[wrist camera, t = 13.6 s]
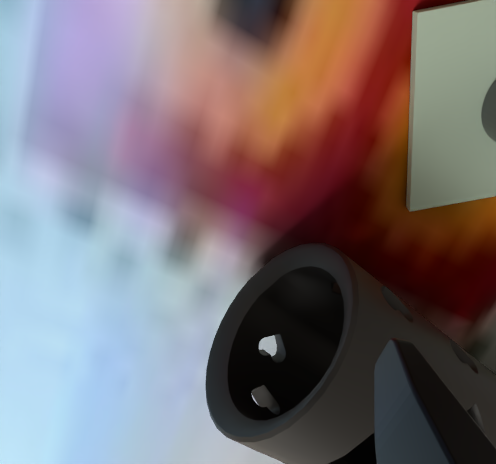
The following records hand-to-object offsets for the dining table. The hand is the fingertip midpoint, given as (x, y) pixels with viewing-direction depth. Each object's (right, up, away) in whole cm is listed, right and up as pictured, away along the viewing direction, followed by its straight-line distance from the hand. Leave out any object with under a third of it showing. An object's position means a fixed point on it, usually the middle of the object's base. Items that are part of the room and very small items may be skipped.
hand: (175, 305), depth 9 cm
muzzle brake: (+12, -7, +20) cm, 25 cm away
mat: (+13, +7, +11) cm, 18 cm away
